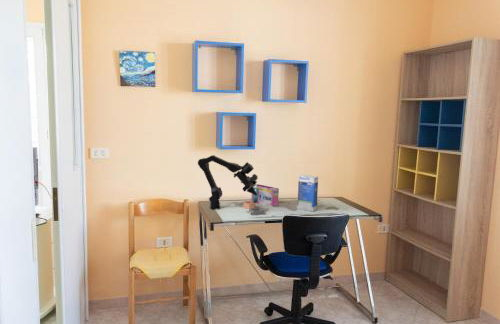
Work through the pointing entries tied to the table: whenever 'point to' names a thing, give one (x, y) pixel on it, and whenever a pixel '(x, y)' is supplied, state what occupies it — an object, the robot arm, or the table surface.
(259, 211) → the tray
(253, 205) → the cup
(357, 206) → the table surface
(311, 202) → the string lights box
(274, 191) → the gum box
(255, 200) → the battery
